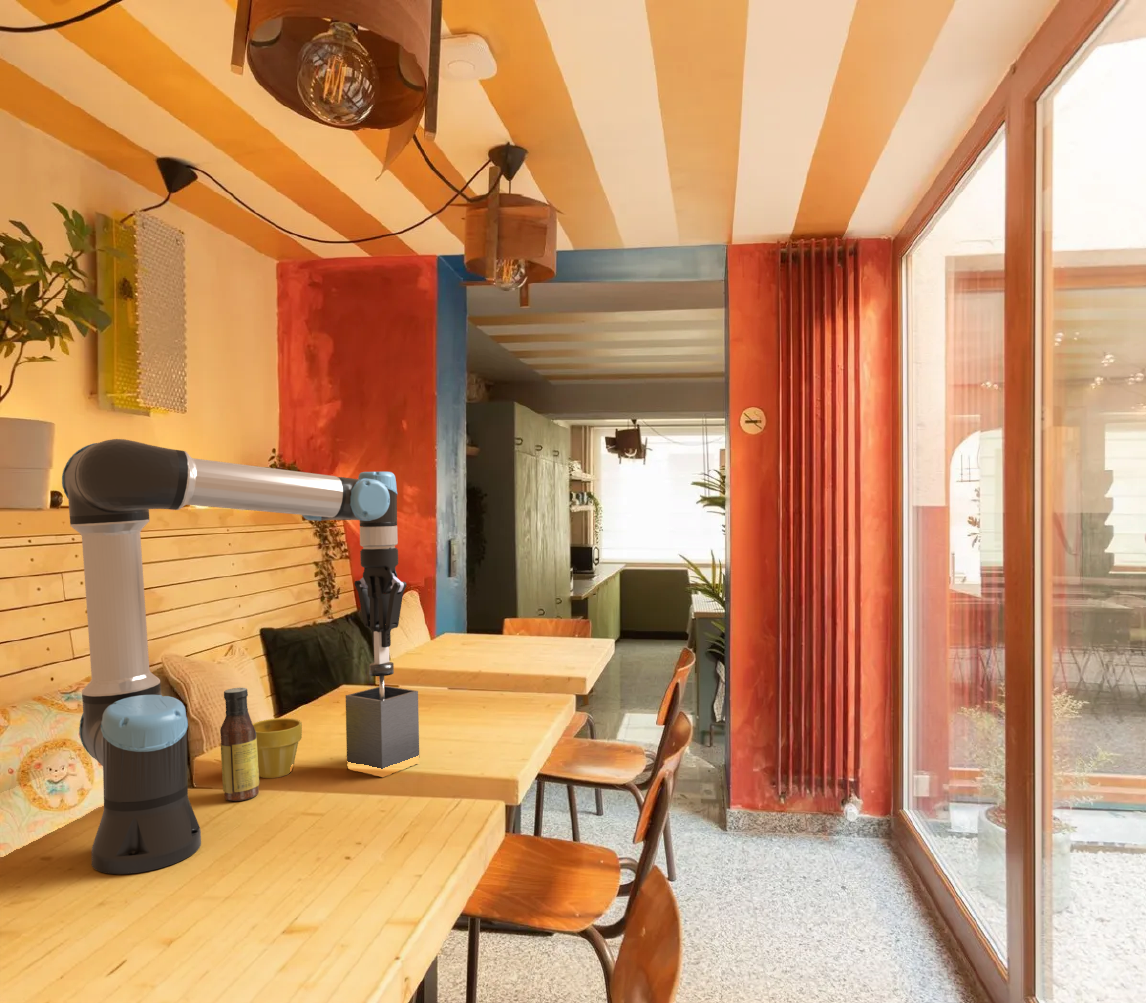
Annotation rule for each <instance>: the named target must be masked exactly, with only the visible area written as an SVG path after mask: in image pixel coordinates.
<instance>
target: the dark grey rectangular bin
mask: <svg viewBox="0 0 1146 1003" xmlns="http://www.w3.org/2000/svg"><path fill="white" fill-rule="evenodd" d="M384 688H385V699H384V700H380V690H379V686H376V687H371V688H370V689H369V688H368V689H365V690H361V691H357V692H354V693H349V694H346V695H345V728H346V729H345V731H346V732H345V734H346V736H345V737H346V762H347V761H348V762H351V763H356V764H364V765H369V766H372V767H377V768H381V769H383V768H385V767H388V766H390V765H393V764H397V763H400V762H402V761H405V760H408V759H410V758H413V757H416V756H418V755H419V756H420V731H419V730H420V728H419V727H420V726H419V722H420V721H419V715H420V714H419V690H414V689H409V688H402V687H395V686H390V685H384Z"/></svg>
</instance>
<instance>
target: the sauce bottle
mask: <svg viewBox="0 0 1146 1003" xmlns="http://www.w3.org/2000/svg"><path fill="white" fill-rule="evenodd" d="M248 695H249V694H248V688H246V687H235V688H234V687H233V688H228V689H226V690H224V692H223V698H224V701H225V718H224V720H223V722H222V724H221V727H220V728H219V729H220V757H221V759H220V760H221V761H220V762H221V774H222V776H221V777H222V778H221V779H222V791H223V792H224V799H225V800H226V801H230V802H231V801H232V802H241V801H248V800H250V799H253V798H255V797H256V796H257V795H258V794H259V793H260V791H259V790H260V788H259V785H260V776H259V770H258V754H257V738H256V731H255V729H254V726H253V722H252V719H251V716H250V713H249V711H248V710H249V709H248Z"/></svg>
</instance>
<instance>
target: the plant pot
mask: <svg viewBox="0 0 1146 1003" xmlns="http://www.w3.org/2000/svg"><path fill="white" fill-rule="evenodd" d="M302 723H303V722H302V721H301V720H299V719H296V718H289V717H288V718H287V717H280V718H279V717H277V718H276V717H275V718H269V719H264V720H259V721H256V722H252V724H253V726H254V729H255V731H256V738H257V754H258V770H259V778H262V779H263V778H264V779H275V778H276V779H277V778H282V777H285V776H287V775H289V773H290V767H291V765H292V764H294V765H295V762H296V761H295V760H296V756H297V751H298V746H299V742H300V741H301V740H302V738H303V737H302V736H303V724H302ZM290 774H291V773H290Z"/></svg>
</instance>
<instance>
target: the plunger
mask: <svg viewBox="0 0 1146 1003" xmlns="http://www.w3.org/2000/svg"><path fill="white" fill-rule="evenodd" d="M394 664H395V663H394V662H392V661H389V662H387V663H383V664H374V662H371V663H369V676H371V677H378V681H379V682H378V683H379V686H378V687H379V690H380V700H384V699H385V688H384V686H385V676H391V675H394V672H395V671H394V670H395V669H394V667H395V666H394Z"/></svg>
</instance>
